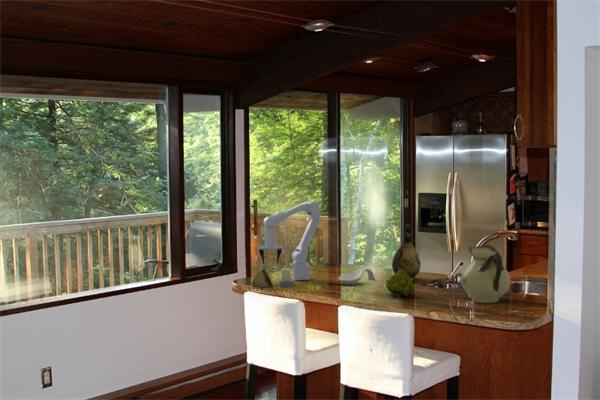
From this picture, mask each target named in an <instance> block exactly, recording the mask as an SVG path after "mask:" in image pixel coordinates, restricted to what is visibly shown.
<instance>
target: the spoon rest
mask: <svg viewBox="0 0 600 400" xmlns="http://www.w3.org/2000/svg"><path fill="white" fill-rule="evenodd" d="M364 272H366V273H367V279H368V280H371V281H375V280H376V278H375V274H374V272H373V270H371V269H369V268H365V267H361V268H359V269H356V270H353V271H351V272H349V273H347V274H344V275H340V276H338V277H337V279H338V281H339V282H340V283H341V284H343V285H347V286H353V285H356V284H357V283H358V282H360V280H361V277H362V276H363V274H364Z"/></svg>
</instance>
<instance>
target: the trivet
mask: <svg viewBox="0 0 600 400" xmlns="http://www.w3.org/2000/svg"><path fill="white" fill-rule="evenodd" d="M278 287H280V288H281V287H283V288H284V287H295V280H294V279H292V278H290V281H282V278H280V279H278Z"/></svg>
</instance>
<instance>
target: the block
mask: <svg viewBox="0 0 600 400" xmlns="http://www.w3.org/2000/svg"><path fill="white" fill-rule="evenodd" d="M281 279H282V281H290V279H291V268H289V267H288V268H281Z"/></svg>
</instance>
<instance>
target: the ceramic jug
mask: <svg viewBox="0 0 600 400" xmlns="http://www.w3.org/2000/svg"><path fill="white" fill-rule="evenodd" d="M413 233H414V229H413V228H411V225H410V224H405V225H404V226H403V241H402V244H401V245H400V246H399V247H398V249H397V250H396V252H395V253H394V255H393V259H392V263H391V268H392V270H393V273H394V274H396V272H397V271H398V269H399V268H401V269H403V271H405V272H407V275H409V277H410V278H413V281H414V280H415V278H416V276H417V275H418V274H419V273H420V270H421V258H420V256H419V254H418V252H417V249H416V248H415V246H414V245H413V243H412V241H411V236H412V235H413Z"/></svg>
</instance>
